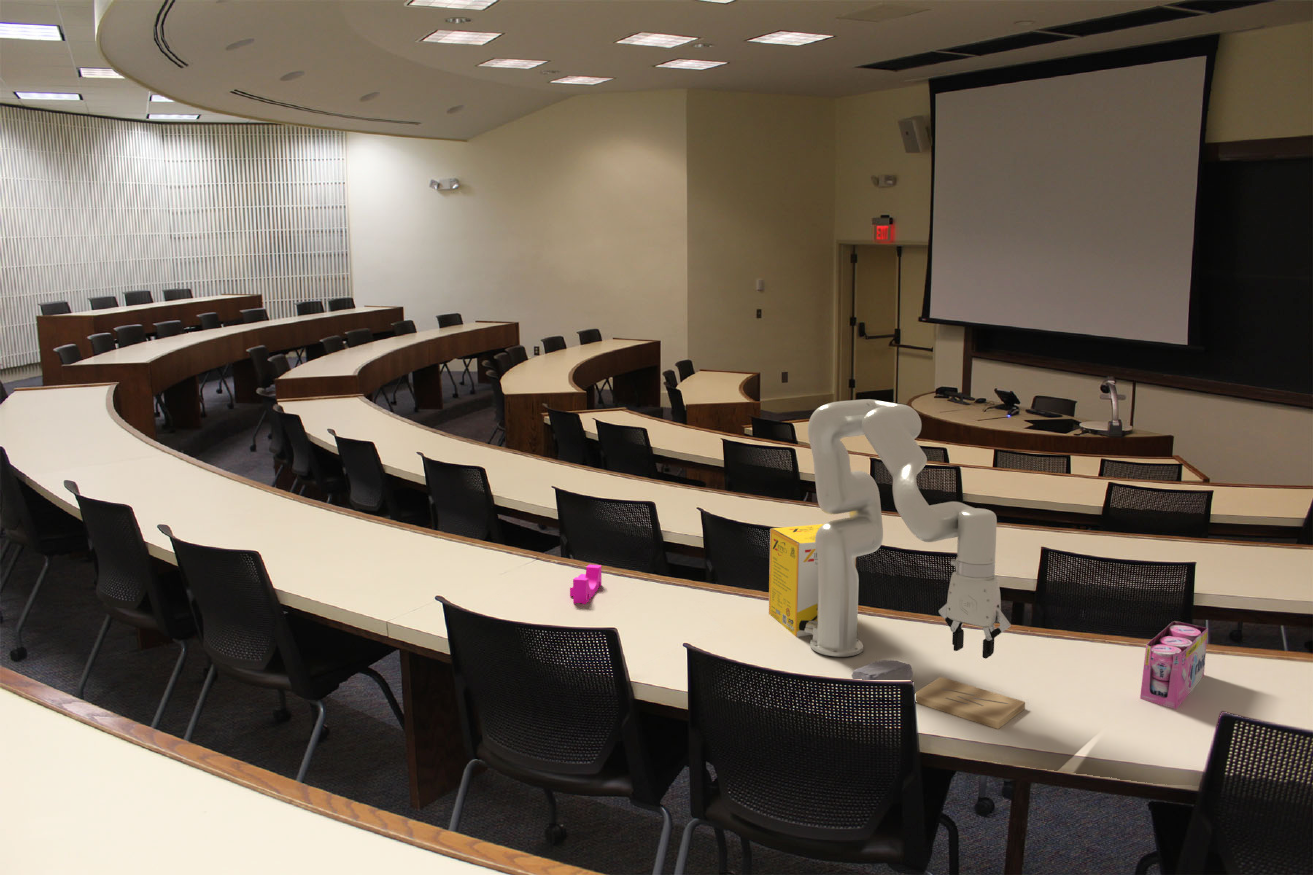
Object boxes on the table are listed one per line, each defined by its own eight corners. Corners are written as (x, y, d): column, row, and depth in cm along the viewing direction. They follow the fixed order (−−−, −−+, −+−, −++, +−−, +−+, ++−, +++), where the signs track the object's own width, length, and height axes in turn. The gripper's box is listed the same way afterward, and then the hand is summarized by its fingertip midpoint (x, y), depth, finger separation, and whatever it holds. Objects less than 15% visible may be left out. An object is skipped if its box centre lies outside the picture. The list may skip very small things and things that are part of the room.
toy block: (581, 588, 282) (580, 563, 281) (601, 590, 280) (601, 565, 279) (564, 604, 267) (564, 578, 266) (586, 606, 266) (586, 580, 265)
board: (911, 701, 204) (911, 694, 204) (940, 683, 214) (940, 676, 213) (998, 728, 191) (998, 721, 191) (1024, 708, 201) (1025, 701, 201)
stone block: (886, 650, 220) (916, 665, 211) (886, 670, 221) (915, 686, 212) (844, 659, 215) (873, 675, 206) (844, 679, 215) (872, 696, 207)
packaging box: (823, 613, 260) (825, 523, 256) (853, 633, 244) (856, 538, 241) (768, 620, 255) (770, 528, 251) (796, 641, 239) (798, 543, 236)
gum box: (1175, 713, 199) (1180, 655, 197) (1137, 703, 204) (1141, 646, 202) (1204, 681, 215) (1209, 627, 213) (1168, 672, 220) (1172, 619, 218)
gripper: (928, 565, 201) (926, 648, 203) (1008, 580, 189) (1005, 668, 192) (945, 558, 206) (942, 638, 209) (1024, 572, 195) (1020, 657, 197)
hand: (972, 652), depth 200 cm, fingers open, 5 cm apart
